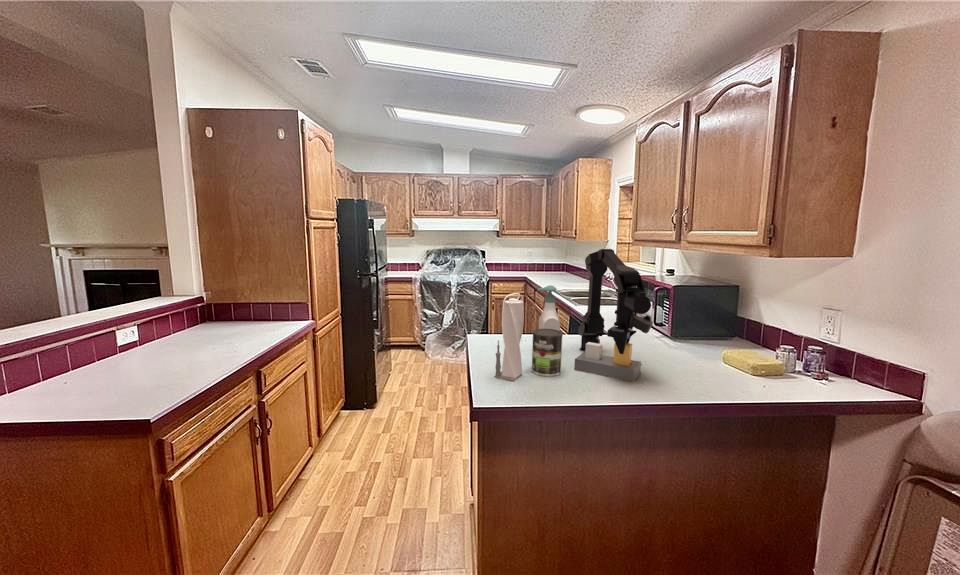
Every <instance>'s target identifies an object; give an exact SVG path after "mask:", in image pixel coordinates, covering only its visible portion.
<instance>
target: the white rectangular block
mask: <svg viewBox="0 0 960 575" xmlns="http://www.w3.org/2000/svg"><path fill="white" fill-rule="evenodd" d="M584 352H585V358H589V359H594V360H599V361H600V360H601V359H602V355H603V343H600V344H598V343H592V342H588V343H586V349H585V351H584Z"/></svg>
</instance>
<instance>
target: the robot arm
mask: <svg viewBox="0 0 960 575" xmlns="http://www.w3.org/2000/svg"><path fill="white" fill-rule="evenodd" d="M584 262H585V263H584V264H585V270H586V271H587V273H588V275H589V281H588V283H589V284H588V300H587V311H586V312H585V314H584V315H583V317H582V321H581V323H580V325H579V327H578V328H577V329H578V330H577V331H578V335H579V336H581V341H580V342H581V344H580V348H579V351H583V352H585V349H586V343H588V342H592V343H598V344H601V339H599V338H600V337H603V335H604V332H605V330H604V329H605V319H604V318H605V317H603V316H602V313H601V300H602V288H603V287H602V286H603V277H604V276H605V274H606V273H607V271H608V269H609V271H610V273H612V275H613V282H614V284H615V285H616V289H615V293H617V296H616V297H617V300H616V310H614V314H615V322H613V323H614V324H613V325H612V326H611V327H610V328H609V329H608V330H607V335H606V336H607V337H609V338H612V339H613V341H614V344H615V343H616V346H617V348H618V350H619V353H620V354H623V353H624V350H625V345H626V343H630V341H631V337H632V336H633V335H635V334H636V333H637V330H639V331H640V332H641V333H644V334H648V333H649V332H650V330H651V328H652V326H653V324H654V322H653V321H652V316H649V315H644V314H646V313H648V312H649V311H650V310H651V307H652V303H651V300H650V298H649V297H647V296H646V294H647V293H646V289H645V284H644V281H643V279H642V276H641V274H640V272H639V271H638V270H637V269H635V268H634V267H631V266H628V265H626V264H625V263H624V261H622V260H621V259H620V257H618V255H617V254H616V253H615V250H614V249H612V248H601V249H599V250H597V251H594V252H591V253H588V255H587V256H586V257H585V259H584ZM638 314H639V315H644V316H639V315H638ZM634 328H635V329H636V330H633V329H634Z"/></svg>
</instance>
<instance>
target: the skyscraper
mask: <svg viewBox="0 0 960 575" xmlns="http://www.w3.org/2000/svg"><path fill="white" fill-rule="evenodd" d="M513 295H518V296H517V298H509V297H510V296H513ZM520 297H521V293H519V292H513V293H509V294H506V296H505V297H504V299H503V301H502V309H501V310H502V312H501V315H502V316H501V330H502V339H503V344H504V348H503V357H502V365H501V354H502V353H501V352H500V346H501V345H500V340H497V345H496V347H497V350H496V353H495V361H496V362H495V375H494V377H493V378H495V377H496V379H500V378H501V379H500V380H504V379H505V381H510V382H515V381H517V379H519V378H521V376H522V375H523V366H522V365H523V364H522V353H521V345H520V343H521V340H522V336H523V330H524V320H525V319H524V318H525V316H524V314H525V310H524V309H525V308H524V301H523V300H519V299H520ZM507 298H509V299H508V300H507Z"/></svg>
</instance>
